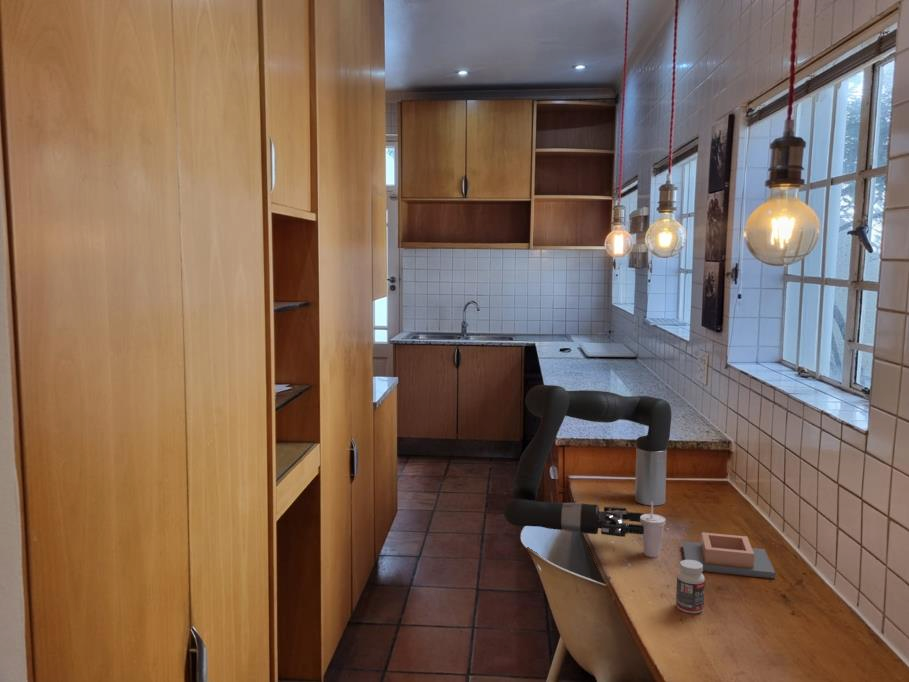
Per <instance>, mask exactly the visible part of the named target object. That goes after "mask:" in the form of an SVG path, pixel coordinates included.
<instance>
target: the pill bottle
mask: <svg viewBox="0 0 909 682" xmlns="http://www.w3.org/2000/svg"><path fill="white" fill-rule="evenodd" d="M679 569H680V570H678V572H677V574H676V595H675V596H676V597H675V598H676V599H675V605H676V607H677V609H679V610H680V611H682V612H683V613H688V614H700V613H701V612H703V610H704V609H705V587H706V586H705V585H706V584H705V581H706V578H705V575H704V574H703V572H704V571H703V565H702V563H700V562H698V561H695V560H685V559H683V560H681V561H679Z"/></svg>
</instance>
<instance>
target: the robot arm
mask: <svg viewBox="0 0 909 682" xmlns="http://www.w3.org/2000/svg"><path fill="white" fill-rule="evenodd" d="M524 401H525V402H524V403H525V405H526V408H527V411H529V412H530V413H531V414H532V415H534V416H536V417H538V418H541V421H540V423H539V427H538V429H537V431H536V432H535V435H534V437H533V438H532V439H531V441H530V442H529V443H528V445H527V446H526V447H525V449H524V451H523V452H522V454H521V456H520V458H519V461H518V465H517V468H516V472H515V475H514V480H513V487H514V488H513V492H512V495H511V499H510V500H509V501H508V502H506V504H505V505H504V508H503V515H504V518H505V520H506V521H507V522H508V523H509V524H510V525H513V526H515V527H536V528H537V527H538V528H544V529H550V530H558V531H559V530H560V531H564V532H565V531H566V532H570V533H578V534H591V535H597V534H598V533H599V529H600V534H601V535H604V536H605V535H606V536H613V537H620V538H621V537H622V538H625V537H626V535H628V534H632V535H633V534H634V535H635V534H636V535H642V534H643V533H644V526H643V525H641V524H635V523H626V522H636V523H641V522H640V516H641V515H644V513H643V512H633V511H632V512H631V511H629V510H628V509H627V508H626V507H615V506H604V507H603V511H600V507H599V505H598V504H593V503H592V504H591V503H581V502H580V503H577V502H556V501H555V502H554V501H539V500H537V497H538V491H539V488H540V485H541V482H542V477H543V473H544V471H545V470H544V469H545V466H546V463H547V459H548V457H549V455H550V452H551V449H552V447H553V444H554V442H555V440H556V438H557V436H558V433H559V431H560V428H561V427H562V425H563V422H564V419H565V418H566V417H568V418H569V417H570V418H572V419H574V418H575V419H577V420H583V421H588V422H592V423H593V422H595V423H609V424H610V423H614V422H617V421H619V420H622V421H628V422H633V423H637V424H639V425H643V426H646V427H648V428H647V430H648V431H647V434H646V435H642V436H639V437H638V438H637V439H636V442H635V443H636V447H635V448H636V450H635V451H636V452H635V453H636V454H635V487H634V489H635V490H634V493H635V494H634V501H635V502H637V503H639V504H641V505H645V506H651V502H653V507H654V506H655V507H656V506H662V505H664V504H666V493H667V492H666V491H667V489H666V488H667V487H666V486H667V457H668V456H667V455H668V444H669V440H670V437H671V425H672V407H671V405H670V402H669V401H668V400H666V399H664V398H660V397H655V396H654V397H653V396H650V395H638V396H637V395H636V396H635V395H633V396H627V395H625V396H624V395H621V394H618V393H615V392H609V391H602V390H601V391H600V390H586V389H585V390H583V389H582V390H566V388H564V387H562V386H559V385H553V384H552V385H551V384H538V385H535V386H533V387H532V388H530V389H529V390H528V392H527V393H526V396H525V400H524Z"/></svg>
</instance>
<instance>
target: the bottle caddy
mask: <svg viewBox="0 0 909 682" xmlns="http://www.w3.org/2000/svg"><path fill="white" fill-rule="evenodd" d="M683 552H684V553H683ZM682 553H683V558H684V559H683V560H695V561H698V562H700V563H702V565H703V571H702V572H708V573H717V574H727V575H736V576H737V575H738V576H745V577H755V578H756V577H757V578H765V579H772V580H773V579H776V571H775V569H774V567H773V564H772V562H771V560H770V558H769V556H768V554H767V552H766V550H765V548H756V547H752V545H751V543H750V540H749V537H748V536H746V535H744V536H743V535H733V534H723V533H714V532H713V533H711V532H701V542H694V541H693V542H692V541H686V540H685V541H682Z"/></svg>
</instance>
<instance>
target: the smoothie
mask: <svg viewBox="0 0 909 682" xmlns="http://www.w3.org/2000/svg"><path fill="white" fill-rule="evenodd" d="M643 514H644V513H643ZM666 522H667V521H666V518H665V517H664V516H662V515H661V514H660V515H659V514H654V505H653V502H651V505H650V513H645V514H644V515H641V516H640V522H639V523H641V524H640V525H643V526H644V533H643V534H641V535H642V545H643V554H644V556H646V555H647V556H646V557H648V556H649V557H650V558H658V557H659V556H660V552H661V547H662V546H661V545H662V540H663V539H662V538H663V536H664V535H663V533H664V527H665V525H666ZM657 556H658V557H657ZM649 557H648V558H649Z"/></svg>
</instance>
